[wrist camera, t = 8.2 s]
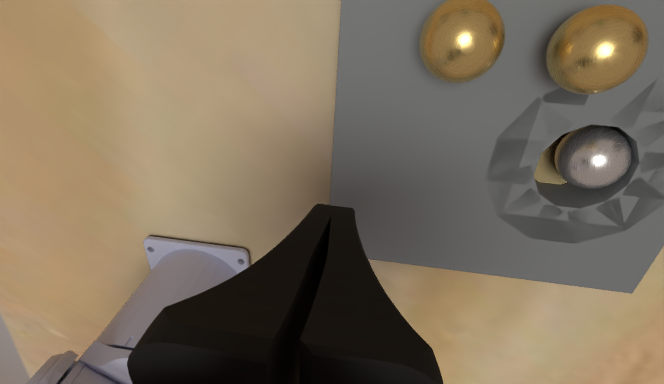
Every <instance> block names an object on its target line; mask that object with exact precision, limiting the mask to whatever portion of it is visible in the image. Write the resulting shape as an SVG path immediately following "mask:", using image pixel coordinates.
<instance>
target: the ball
mask: <svg viewBox="0 0 664 384" xmlns="http://www.w3.org/2000/svg"><path fill="white" fill-rule="evenodd" d="M631 158H632V154H631V148H630V145H629V143H628V141H627V140H626V138H625V137H624V136H623V135H622V134H620V133H619V132H618V131H616V130H614V129H612V128H609V127H606V126H601V125H590V126H585V127H582V128H579V129H576V130H573V131H572V132H570V133H569V134H567V135H566V136H565V137H564V138H563V139H562V140H561V141H560V143H559V144H558V146H557V148H556V151H555V156H554V161H555V166H556V169H557V171H558V173H559V174H560V176H561V177H562V178H563V179H564V180H566V181H567V182H568V183H570V184H572V185H574V186H577V187H581V188H587V189H596V188H602V187H605V186H608V185H610V184H612V183H614V182H616V181H617V180H619V179H620V178H621V177H622V176H623V175H624V174H625V173H626V171H627V170H628V168H629V166H630V163H631Z"/></svg>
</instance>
